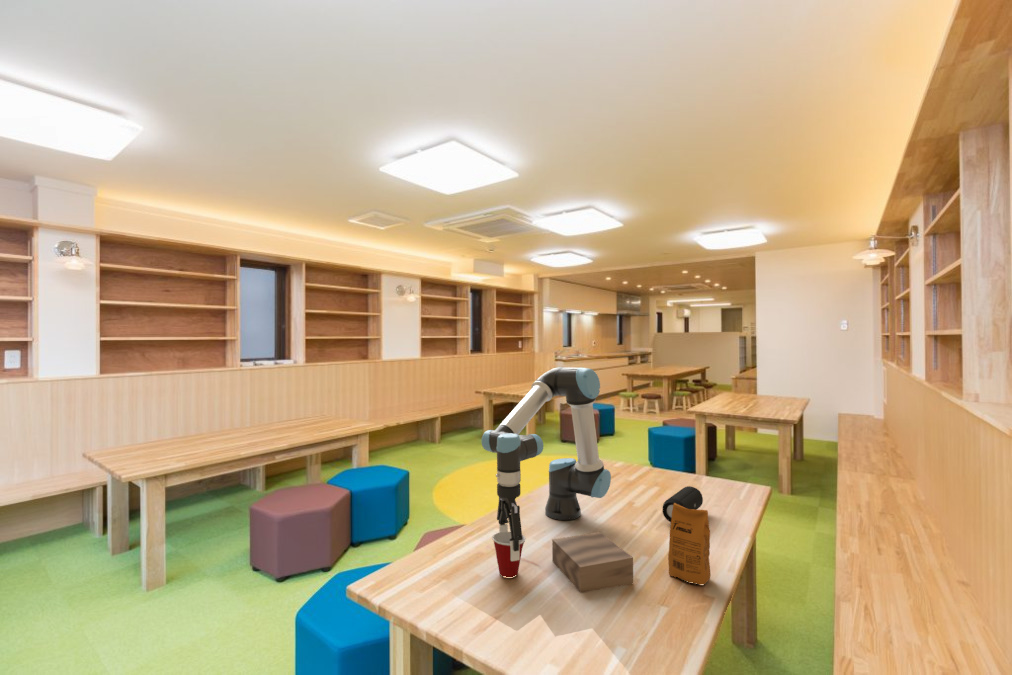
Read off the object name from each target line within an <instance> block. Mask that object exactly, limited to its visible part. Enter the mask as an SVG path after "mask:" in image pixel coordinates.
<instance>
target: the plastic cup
mask: <svg viewBox="0 0 1012 675" xmlns="http://www.w3.org/2000/svg"><path fill="white" fill-rule="evenodd" d="M491 538H492V540H493V545H494V548H495V554H496V555H495V556H496V563H497V566H498V567H497V568H498V572H499V575H500V574H501V575H502V576H506V577H513V576H515V575H517V576H518V575H519V568H520V564H521V559H522V552H523V547H524V544H525V542H526V540H527V538H526V537H525V535H524V534H522V540H519V542H520V560H517V561H511V551H510V540H509V539H511V532H510V531H508V532H500V533H499V532H496V533H494V534H493V535H492V537H491Z"/></svg>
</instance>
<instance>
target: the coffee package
mask: <svg viewBox="0 0 1012 675" xmlns="http://www.w3.org/2000/svg"><path fill="white" fill-rule="evenodd" d="M709 521H710V520H709V512H708V510H707V509H697V510H694V509H687V508H685V507H682V506H680V505H678V504H676V503H674V505H673V510H672V520H671V522H670V529H669V542H668V543H669V544H668V557H667V561H668V563H667V564H668V575H671V576H674V577H673V578H676V577H678V579H680V578H681V579H680V580H682V579H683V580H685V581H688V582H693V583H697V584H705V583H706V582H707V583H708V581H710V578H711V566H710V551H711V550H710V546H711V545H710V544H711V542H710V541H711V529H710V522H709ZM671 576H670V577H671ZM683 580H682V581H683ZM685 581H684V582H685ZM705 585H706V584H705Z"/></svg>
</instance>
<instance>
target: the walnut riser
mask: <svg viewBox="0 0 1012 675" xmlns="http://www.w3.org/2000/svg"><path fill="white" fill-rule="evenodd" d="M551 540H552V542H551V550H552V551H551V552H552V556H551V557H552V559H551V560H552V563H553V564H554V565H555V566H556V567H557V568H558V569H559V571H561V573H562V574H563V575H564V576H565V578H567V579H568V581H569V582H570V583H571V584H572V585H573V586H574V587H575V589H577V591H578V592H579V593H587V592H591V591H592V592H593V591H597V590H598V591H599V590H605V589H610V588H611V589H612V588H615V587H622V586H627V584H629V585H633V584H634V557H633V556H632V555H630V554H629V553H628V552H626V551H625V550H623V549H622V548H621V547H620V546H619V545H617V544H616V543H614V541H613V540H611V539H609V538H608V537H607V536H606V535H604V534H603V533H602V532H601V531H597V532H591V533H585V534H584V533H583V534H577V535H573V536H572V535H571V536H565V537H560V538H558V537H557V538H552V539H551ZM632 583H633V584H632Z"/></svg>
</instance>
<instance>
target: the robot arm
mask: <svg viewBox="0 0 1012 675" xmlns="http://www.w3.org/2000/svg"><path fill="white" fill-rule="evenodd" d="M530 388H531V389H530V390H529V391H528V392H527V393H526V394H525V396H524V397H523V398H522V399H521V400H520V401H519V403H517V404H516V406H514V408H513V409H512V410H511V412H509V414H507V416H506V417H505V418H504V419H503V420H502V421H501V423H500V424H499V425H498V426H497V427H496V428H495V430H494V429H488V430H486V431H484V433H483V434H482V437H481V445H482V448H483V450H485V451H487V452H489V453H494V454H496V464H497V465H496V474H495V477H496V478H497V479H496V480H497V481H496V482H497V484H496V495H497V496H498V505H497V514H496V519H497V521H498V524H499V526H498V527H499V528H498V529H499V530H498V533H500V532H511V539H509V540H510V551H511V561H517V560H520V561H521V559H520V542H519V540H522V535H523V533H522V532H523V531H522V523H521V521H522V520H521V510H520V508H521V507H520V505H517V502H516V499H517V498H519V497H520V496H521V476H522V475H521V462H522V461H526V460H528V459H532V458H535V457H537V456H539V455H541V454H542V453H543V451H544V442H543V439H542V438H541V437H540V436H539V435H538V434H535V433H529V434H526V435H525V434H520V433H521V432H522V431H523V430H524V428H525V427H526V425H528V424H529V422H530V421H531V420H532V418H533V417H534V416H535V415H536V414H537V413H538V412H539V410H541V408H542V407H543V405H545V403H546V402H550V401H551V400H552V398H554V397H557V396H559V397H565V400H566V404H567V405H569V407H570V411H571V418H572V425H573V434H574V440H575V448H576V455H577V456H576V458H577V459H575V458H573V457H572V458H570V457H566V458H565V457H564V458H557V459H553V460H552V461H550V462H549V465H548V489H549V490H548V492H549V493H548V494H549V495H548V498H547V501H546V505H545V507H544V508H545V509H544V510H545V511H544V513H545V515H546V516H547V517H549V518H550V519H553V520H557V519H558V521H571V520H576V519H579V518H580V517H581V515H582V510H581V506H580V502H579V499H578V496H577V494H579V495H583V496H587V497H590V498H596V499H603V498H604V497H605V496H606V495H607V493H608V491H609V489H610V486H611V482H612V481H611V480H612V475H611V471H610V470H609V469H606V468H605V464H604V462H603V460H602V459H601V458H600V456H599V447H598V439H597V431H596V424H595V422H596V421H595V414H594V405H593V404H594V403H595V402H596V400H597V399H596V398H597V397H599V395H600V389H601V381H600V378H599V376H598V373H597V372H596V371H594V370H593V369H592V368H588V367H581V366H580V367H571V366H570V367H568V366H567V367H564V366H558V367H554V368H551V369H549V370H547V371H545V372H544V373H543V374H541V375H539V377H538V378H536V379H535V380H534V382H533V383H531V387H530ZM579 516H580V517H579ZM508 525H509V528H508ZM509 530H510V531H509Z"/></svg>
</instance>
